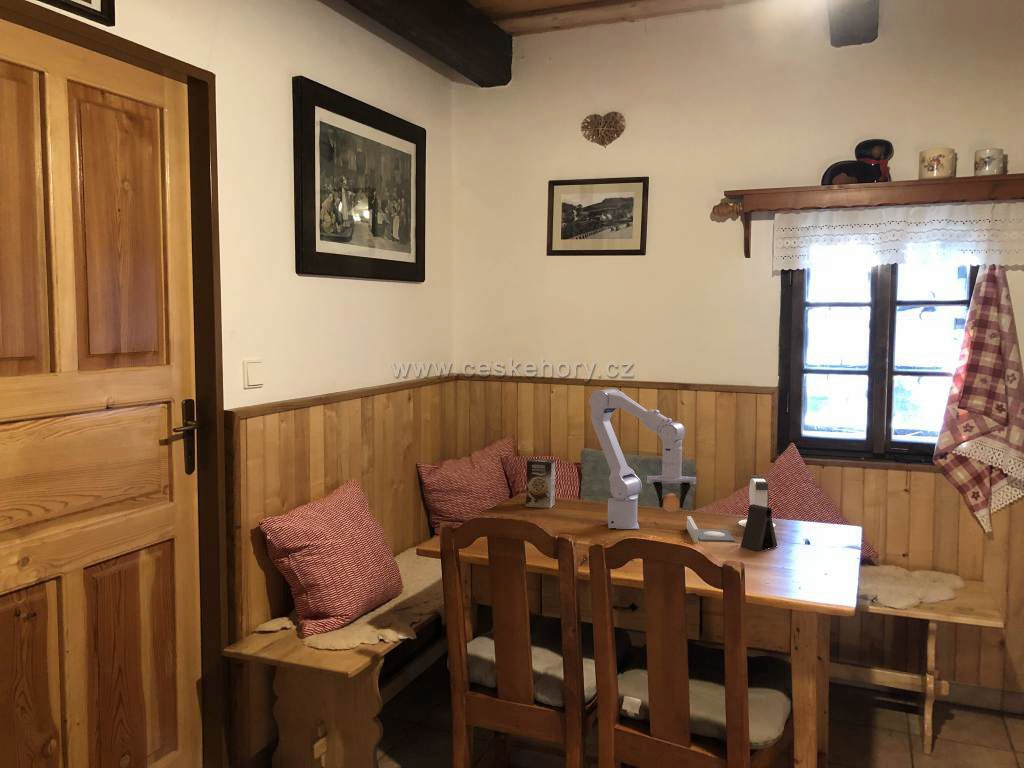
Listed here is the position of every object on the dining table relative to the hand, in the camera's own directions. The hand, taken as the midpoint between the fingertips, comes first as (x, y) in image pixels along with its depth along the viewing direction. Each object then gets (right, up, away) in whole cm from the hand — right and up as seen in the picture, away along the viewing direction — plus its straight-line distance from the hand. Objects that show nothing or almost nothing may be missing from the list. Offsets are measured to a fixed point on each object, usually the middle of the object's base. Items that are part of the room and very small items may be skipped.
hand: (670, 506), depth 253 cm
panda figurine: (+30, -8, +13) cm, 34 cm away
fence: (+7, -9, 0) cm, 11 cm away
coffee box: (-38, -6, +39) cm, 55 cm away
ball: (0, +1, 0) cm, 1 cm away
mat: (+13, -9, 0) cm, 16 cm away
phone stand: (+23, -10, -12) cm, 28 cm away
